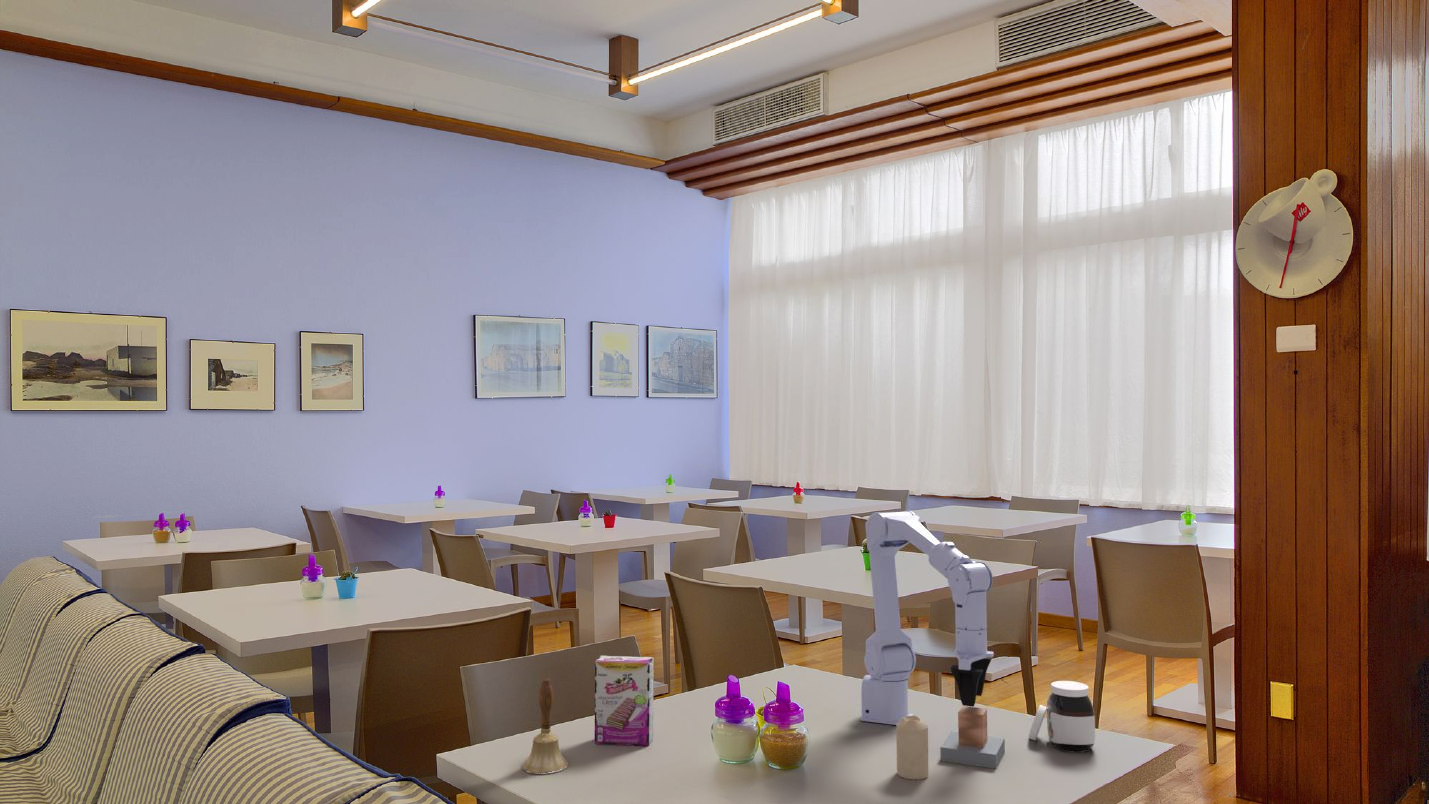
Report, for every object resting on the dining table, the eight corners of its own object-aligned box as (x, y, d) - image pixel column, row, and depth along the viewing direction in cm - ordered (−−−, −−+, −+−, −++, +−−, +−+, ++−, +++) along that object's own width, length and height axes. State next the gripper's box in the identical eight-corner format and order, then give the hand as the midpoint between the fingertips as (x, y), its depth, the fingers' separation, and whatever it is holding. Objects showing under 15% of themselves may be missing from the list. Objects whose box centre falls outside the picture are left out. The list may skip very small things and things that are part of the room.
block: (958, 744, 176) (958, 712, 176) (963, 737, 180) (962, 705, 180) (983, 748, 174) (982, 715, 174) (987, 740, 178) (987, 708, 178)
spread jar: (1101, 754, 177) (1099, 692, 178) (1040, 754, 177) (1039, 692, 178) (1077, 734, 189) (1076, 676, 190) (1021, 734, 189) (1020, 676, 190)
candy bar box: (593, 745, 184) (593, 660, 185) (599, 737, 189) (599, 654, 190) (650, 746, 183) (649, 661, 184) (654, 738, 188) (654, 655, 189)
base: (940, 760, 174) (940, 747, 174) (951, 744, 183) (951, 731, 183) (996, 768, 170) (995, 754, 170) (1004, 751, 179) (1004, 738, 179)
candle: (928, 781, 164) (928, 723, 165) (896, 778, 165) (896, 721, 166) (928, 770, 170) (927, 713, 170) (897, 768, 171) (896, 712, 171)
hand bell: (576, 762, 175) (576, 675, 176) (553, 777, 167) (553, 686, 168) (537, 757, 178) (537, 671, 178) (513, 771, 170) (513, 682, 171)
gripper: (986, 636, 169) (987, 713, 169) (999, 622, 182) (1000, 693, 182) (946, 633, 172) (947, 708, 172) (962, 619, 185) (963, 688, 185)
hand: (972, 700), depth 177 cm, fingers open, 7 cm apart
